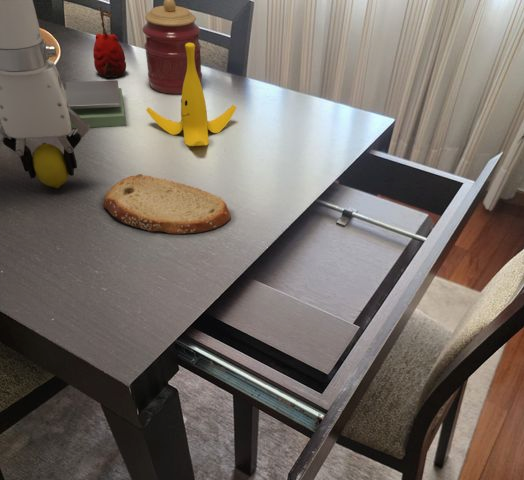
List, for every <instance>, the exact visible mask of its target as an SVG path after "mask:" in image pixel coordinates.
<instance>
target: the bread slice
mask: <svg viewBox="0 0 524 480" xmlns="http://www.w3.org/2000/svg"><path fill="white" fill-rule="evenodd" d="M102 206H103V208H104V209H106V210H107V211H108V212H109V214H111V216H112V217H114V218H115V219H117V220H118V221H119V222H121V223H123V224H125V225H129V226H132V227H134V228H138V229H141V230H146V231H148V232H164V233H167V234H176V235H177V234H178V235H182V234H195V233H196V234H199V233H202V232H207V231H210V230H214V229H217V228H219V227H221V226H223V225H225V224H226V223H227V222H228V221H231V217H232V216H231V211H230V210H229V208H228V206H227V203H226V202H225V201H224V199H222V197H220V196H217V195H215V194H212V193H211V192H209V191H205V190H203V189H202V190H201V189H200V188H198V187H193V186H191V185H187V184H185V183H181V182H176V181H173V180H167V179H165V178H159V177H155V176H151V175H144V174H142V173H139V174H136V175H130V176H127V177H126V178H122V179H121V180H120V181H119V182H117V183H115V184H114V185H113V186H112V187H111V188H110V189H109V190H108V192H107V193H106V194H105V196H104V199H103V202H102Z"/></svg>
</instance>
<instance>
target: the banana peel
mask: <svg viewBox="0 0 524 480" xmlns="http://www.w3.org/2000/svg"><path fill="white" fill-rule="evenodd" d="M185 48H186V53H187V71H186V76H185V79H184V84H183V90H182V94H181V99H180V121H178V122H176V121H173V120H170V119H168V118H166V117H164V116H162V115H160V114H159V113H158V112H156V111H154V110H153V109H152V108H150V107H147V108H146V109H145V111H146V112H147V114H148V115H149V117H150V118H151V119H152V120H153V121H154V123H156V124H157V126H159V127H160V128H161V129H163V130H164V131H165V132H167V133H168V134H169V135H172V136H173V135H178V134H180V133H181V132H182V131H183V139H184V144H185V145H186V146H188V147H198V146H199V147H200V146H208V145H209V144H210V139H209V132H211V133H213V134H219V133H220V132H221V131H222V130H223V129H224V128H225V127H226V126H227V124H228V123H229V122H230V120H231V119H232V117H233V115H234V114H235V112H236V109H237V106H236V105H235V104H232V105H231V106H230V107H229V108H228V109H227V110H226V111H224V112H223V113H222V114H220V115H219V116H217V117H216V118H214V119H212V120H209V121H208V111H207V105H206V99H205V94H204V91H203V86H202V82H201V83H200V80H199V77H198V74H197V71H196V67H195V60H194V52H195V45H194V43H186V44H185Z"/></svg>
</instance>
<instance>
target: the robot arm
mask: <svg viewBox="0 0 524 480" xmlns="http://www.w3.org/2000/svg"><path fill="white" fill-rule="evenodd" d="M57 56H58V55H57V49H56V46H55V45H50V44H47V43H46V42H45V39H44V38H43V37H42V33H41V28H40V23H39V19H38V15H37V13H36V8H35V4H34V0H0V142H1V143H2V144H3V145H4V146H6V147H7V148H9V149H10V150H11V151H13V152H15V154H16V155H17V156H18V157H19V158H20V160H21V164H22V168H23V170H24V172H25V173H26V172H27V173H28V175H29V178H30V179H31V180H32V179H35V178H36V177H37V175H36V173H35V171H34V168H33V163H32V156H33V153H32V151H31V149H30V148H29V147H28V146H27V145H26V141H27V139H40V138H41V139H43V138H57V139H58V141H59V142H60V144H61V146H62V147H63V154H64V158H65V162H66V165H67V169H68V173H69V175H68V176H71V177H73V176H75V169H78V164H77V159H76V156H75V151H74V150H75V149H76V147H77V146H78V144H79V143H80V142H81V140H82V139H83V138H84V137H85V136H86V135H87V133H88V132H89V131H90V127H89V124H88V123H87V122H86V121H84V120H83V119H82V118H81V117H80V116H78V115H77V114H76V113H75V112H74V111H72V110H71V109H70V107H69V104H68V100H67V97H66V94H65V90H66V89H65V87H64V84H63V81H62V79H61V76H60V74H59V71H58V69H57V66H56V64H55V62H54V61H52V60H50V58H52V57H57ZM71 123H73V124H74V125H75V126H77V127H78V128H75V130H74V131H73V132H72V128H71ZM2 129H3V130H2Z"/></svg>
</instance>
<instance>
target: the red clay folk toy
mask: <svg viewBox="0 0 524 480" xmlns="http://www.w3.org/2000/svg"><path fill="white" fill-rule="evenodd" d="M98 12H99V14H100V19H101V23H100V24H101V27H102V33H96V34H95V41H94V45H93V53H92V54H93V65H94V69H95V70H96V72H97V73H98V74H99V76H101V77H104V78H112V79H114V78H118V77H122V76H123V75H125V73H126V69H127V62H126V55H125V52H124V48H122V45H121V43H120V42H119V39H118V36H117V35H116V34H114V33H112V34H108V33H107V31H106V28H105V27H106V25H105V21H104V17H107V18H110V19H111V18H112V14H111V13H110V12H109V13H104V11H103V9H102V6H99V8H98Z"/></svg>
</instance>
